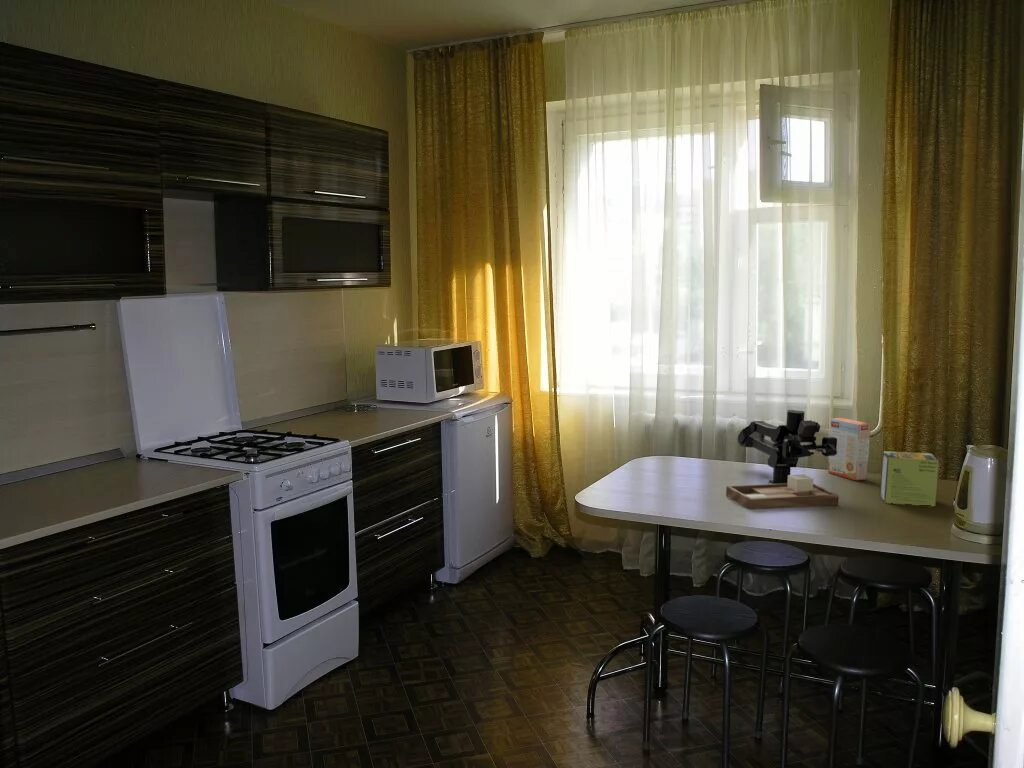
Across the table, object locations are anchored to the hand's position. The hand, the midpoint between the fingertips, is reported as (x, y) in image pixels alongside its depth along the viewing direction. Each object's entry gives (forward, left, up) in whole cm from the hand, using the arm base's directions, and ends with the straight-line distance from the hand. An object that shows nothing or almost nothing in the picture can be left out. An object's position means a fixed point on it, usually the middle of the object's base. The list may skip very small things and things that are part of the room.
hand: (823, 453), depth 279 cm
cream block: (-9, -2, -14) cm, 17 cm away
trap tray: (-5, -11, -16) cm, 21 cm away
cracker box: (-31, +30, -17) cm, 46 cm away
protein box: (+3, +30, -17) cm, 34 cm away
